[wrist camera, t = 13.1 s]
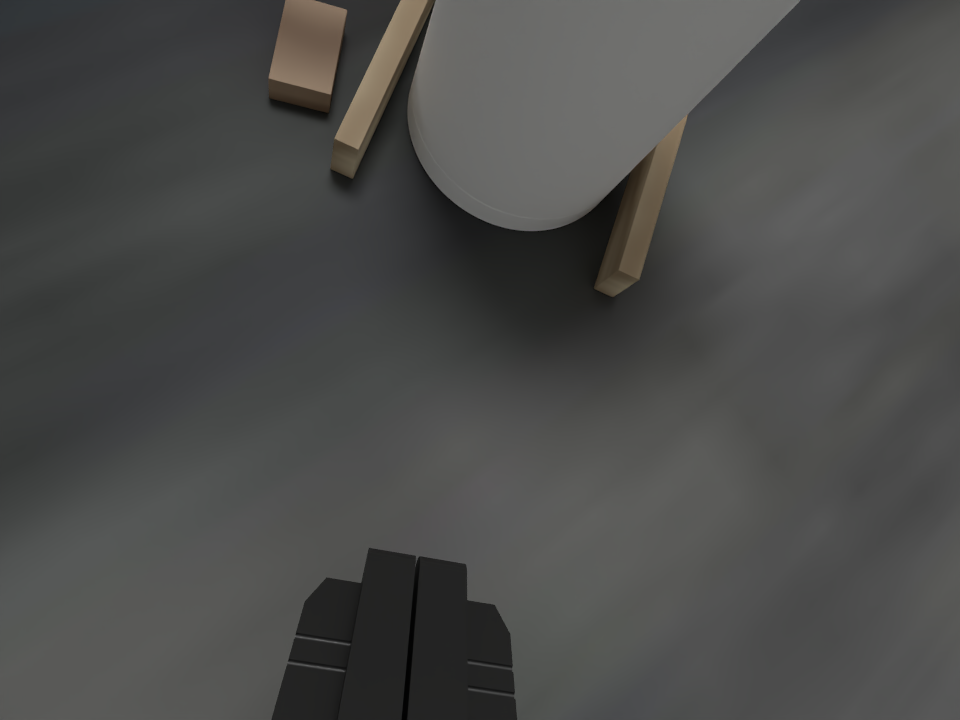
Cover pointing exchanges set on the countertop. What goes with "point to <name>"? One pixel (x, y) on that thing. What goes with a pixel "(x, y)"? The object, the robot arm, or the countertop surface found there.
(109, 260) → the countertop surface
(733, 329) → the countertop surface
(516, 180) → the cylinder
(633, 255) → the cradle
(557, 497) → the countertop surface
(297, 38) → the brown block piece
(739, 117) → the countertop surface
